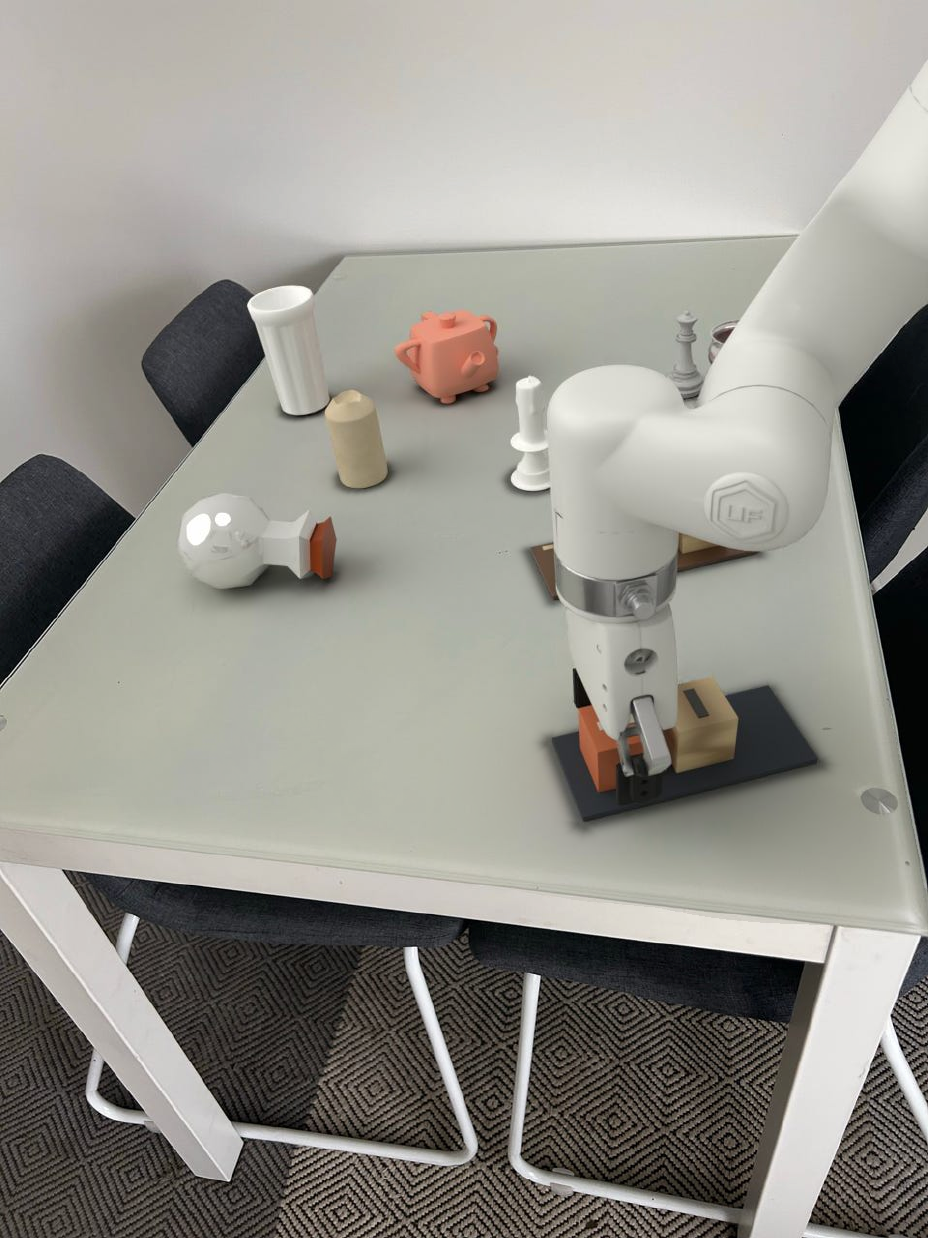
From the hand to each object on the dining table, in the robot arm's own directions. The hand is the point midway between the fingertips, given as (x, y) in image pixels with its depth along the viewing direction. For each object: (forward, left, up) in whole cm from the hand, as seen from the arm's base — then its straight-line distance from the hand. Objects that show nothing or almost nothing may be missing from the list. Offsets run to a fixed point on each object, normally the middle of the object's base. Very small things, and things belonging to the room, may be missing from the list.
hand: (615, 748), depth 69 cm
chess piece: (-27, -53, -2) cm, 59 cm away
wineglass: (-28, -41, -2) cm, 50 cm away
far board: (-11, -24, -2) cm, 27 cm away
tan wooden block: (-17, -24, -2) cm, 30 cm away
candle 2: (-5, -41, -2) cm, 41 cm away
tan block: (-6, 0, -2) cm, 6 cm away
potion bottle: (+25, -34, -2) cm, 42 cm away
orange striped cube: (0, 0, -2) cm, 2 cm away
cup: (+18, -69, -2) cm, 71 cm away
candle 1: (+13, -49, -2) cm, 51 cm away
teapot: (-1, -65, -2) cm, 65 cm away
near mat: (-5, 0, -2) cm, 6 cm away
